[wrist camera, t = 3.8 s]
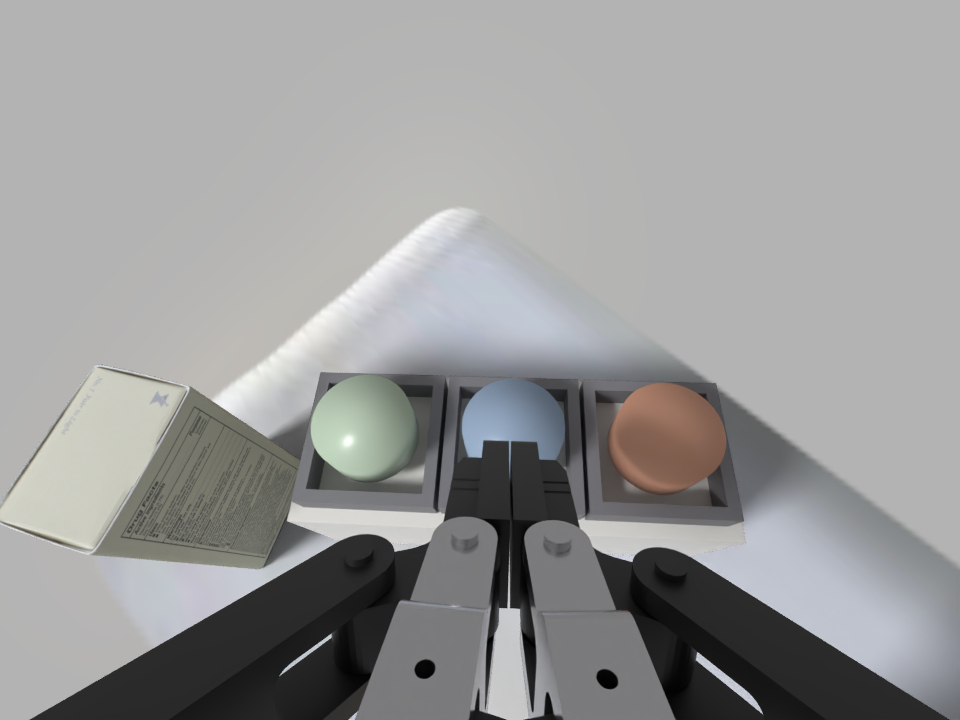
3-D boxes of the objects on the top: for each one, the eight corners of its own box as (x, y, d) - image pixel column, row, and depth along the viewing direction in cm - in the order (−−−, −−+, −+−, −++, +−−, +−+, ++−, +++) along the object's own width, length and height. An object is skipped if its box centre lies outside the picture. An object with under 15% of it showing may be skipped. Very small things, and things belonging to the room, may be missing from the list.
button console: (667, 432, 28) (727, 371, 21) (685, 557, 25) (763, 538, 17) (359, 422, 29) (310, 360, 22) (338, 540, 26) (272, 515, 19)
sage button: (423, 395, 21) (417, 376, 19) (413, 484, 19) (404, 473, 17) (337, 392, 21) (322, 373, 19) (318, 480, 19) (300, 468, 18)
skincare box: (247, 447, 29) (96, 355, 18) (312, 465, 28) (195, 380, 17) (193, 554, 26) (-24, 519, 15) (264, 576, 25) (89, 557, 15)
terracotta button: (696, 403, 20) (715, 384, 18) (713, 497, 18) (736, 486, 17) (604, 400, 20) (613, 381, 19) (611, 492, 19) (622, 481, 17)
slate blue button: (558, 399, 21) (563, 380, 19) (560, 490, 19) (567, 479, 17) (468, 396, 21) (465, 377, 19) (462, 486, 19) (458, 474, 17)
